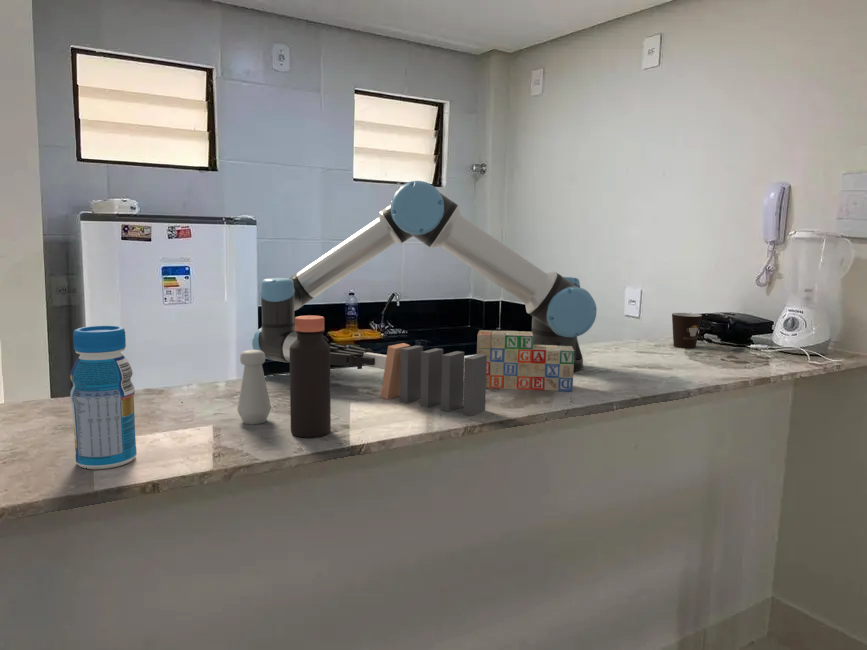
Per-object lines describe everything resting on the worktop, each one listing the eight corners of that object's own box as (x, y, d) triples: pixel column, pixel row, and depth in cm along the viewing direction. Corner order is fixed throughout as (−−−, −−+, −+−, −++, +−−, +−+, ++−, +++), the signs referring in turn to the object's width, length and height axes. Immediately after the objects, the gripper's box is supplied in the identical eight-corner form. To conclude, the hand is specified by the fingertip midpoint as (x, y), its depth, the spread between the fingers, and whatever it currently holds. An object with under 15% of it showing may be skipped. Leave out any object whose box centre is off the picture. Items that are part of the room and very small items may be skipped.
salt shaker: (260, 414, 125) (259, 346, 123) (277, 421, 121) (275, 350, 119) (231, 420, 121) (229, 350, 119) (247, 427, 117) (245, 354, 115)
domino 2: (420, 406, 133) (421, 351, 131) (435, 400, 137) (435, 348, 135) (427, 407, 132) (428, 352, 130) (442, 402, 136) (443, 349, 134)
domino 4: (463, 414, 127) (464, 358, 125) (477, 408, 131) (478, 354, 130) (471, 416, 126) (472, 359, 124) (485, 410, 130) (486, 355, 129)
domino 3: (441, 410, 130) (442, 354, 128) (455, 404, 134) (456, 351, 132) (448, 411, 129) (450, 356, 127) (463, 406, 133) (464, 352, 131)
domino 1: (400, 402, 135) (400, 348, 134) (415, 397, 140) (416, 345, 138) (407, 403, 134) (408, 349, 133) (422, 398, 139) (423, 346, 137)
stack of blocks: (570, 385, 152) (573, 332, 151) (572, 392, 146) (575, 337, 144) (477, 381, 155) (479, 329, 154) (475, 387, 149) (476, 333, 147)
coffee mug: (672, 348, 202) (674, 315, 200) (667, 343, 210) (669, 312, 209) (713, 350, 200) (715, 317, 198) (706, 345, 208) (708, 313, 207)
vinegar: (296, 426, 118) (294, 314, 115) (334, 427, 118) (333, 315, 115) (286, 438, 111) (284, 319, 109) (326, 439, 111) (325, 320, 108)
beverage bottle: (88, 475, 94) (80, 335, 91) (65, 461, 99) (56, 328, 96) (147, 460, 100) (141, 328, 97) (123, 447, 105) (116, 322, 102)
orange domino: (380, 396, 138) (388, 346, 136) (396, 391, 142) (403, 342, 140) (387, 399, 137) (394, 348, 135) (402, 394, 141) (410, 345, 139)
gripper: (328, 361, 158) (408, 375, 144) (287, 370, 147) (369, 386, 134) (327, 330, 156) (408, 340, 143) (286, 337, 146) (369, 349, 133)
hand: (389, 362), depth 138 cm, fingers closed
